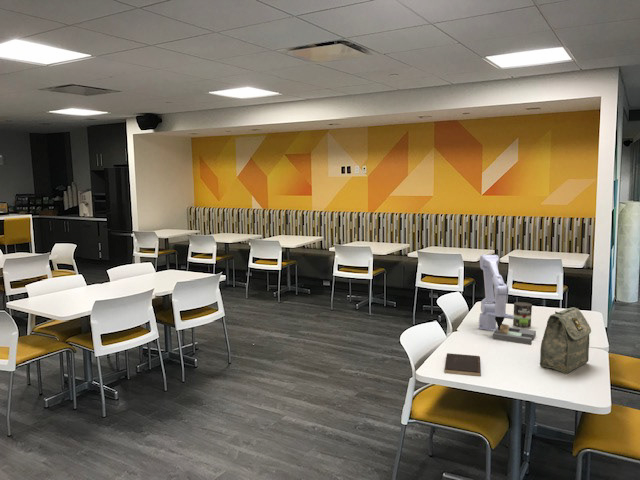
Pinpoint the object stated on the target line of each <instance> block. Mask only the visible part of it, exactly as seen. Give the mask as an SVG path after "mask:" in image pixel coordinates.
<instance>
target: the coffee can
mask: <svg viewBox="0 0 640 480" xmlns="http://www.w3.org/2000/svg"><path fill="white" fill-rule="evenodd" d="M532 310H533V304H532V303H530V302H524V301H515V302H513V315H514V319H512V328H518V329H526V330H531V328H532V327H531V326H532Z"/></svg>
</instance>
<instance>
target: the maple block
mask: <svg viewBox="0 0 640 480" xmlns="http://www.w3.org/2000/svg"><path fill="white" fill-rule="evenodd" d="M509 327H510V325H509V324H507V323H506V324H505V323H502V324H501V325H500V333H505V334H507V333H508V332H509Z"/></svg>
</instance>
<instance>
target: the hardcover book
mask: <svg viewBox="0 0 640 480" xmlns="http://www.w3.org/2000/svg"><path fill="white" fill-rule="evenodd" d="M444 366H445V367H444V370H445V373H447V374H457V375H468V376H479V377H482V372H481V371H482V369H481V356H479V355H473V354H472V355H471V354H461V353H460V354H459V353H448V352H447V353H446V357H445V365H444Z"/></svg>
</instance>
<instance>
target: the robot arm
mask: <svg viewBox="0 0 640 480" xmlns="http://www.w3.org/2000/svg"><path fill="white" fill-rule="evenodd" d="M499 264H500V258H499V256H498V254H481V255H480V257H479V267H480V269H481V270H482V271H483V272H482V273H483V281H484V283H483V284H484V285H483V286H484V296H485V297H484V298H483V299H482V300H480V301H481V302H480V313H479V318H478V329H479V330H486V331H493V332H495V331H496V329H497V328H498V330H500V325H501V324H503V323H504V320H505V319H509V320H513V319H514V314H509V313H506V308H507V296H508V294H509V288H508V285H507V284H506V283H505V281H504V278H503V276H502V274H500V272H499V267H498V266H499Z"/></svg>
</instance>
